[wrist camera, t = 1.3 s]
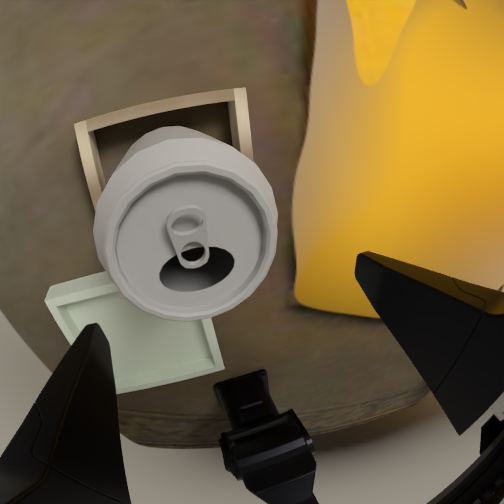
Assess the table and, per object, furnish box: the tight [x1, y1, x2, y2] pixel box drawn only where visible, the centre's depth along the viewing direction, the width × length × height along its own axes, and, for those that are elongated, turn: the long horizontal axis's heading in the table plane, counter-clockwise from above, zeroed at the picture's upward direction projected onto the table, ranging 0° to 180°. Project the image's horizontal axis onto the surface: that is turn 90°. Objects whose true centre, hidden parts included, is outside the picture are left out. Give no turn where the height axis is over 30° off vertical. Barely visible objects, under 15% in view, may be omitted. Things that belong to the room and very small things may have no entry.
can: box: [93, 126, 278, 322], centre depth 15 cm, size 8×8×12 cm
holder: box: [74, 88, 253, 212], centre depth 19 cm, size 11×11×2 cm
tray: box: [44, 271, 225, 394], centre depth 24 cm, size 13×13×2 cm
